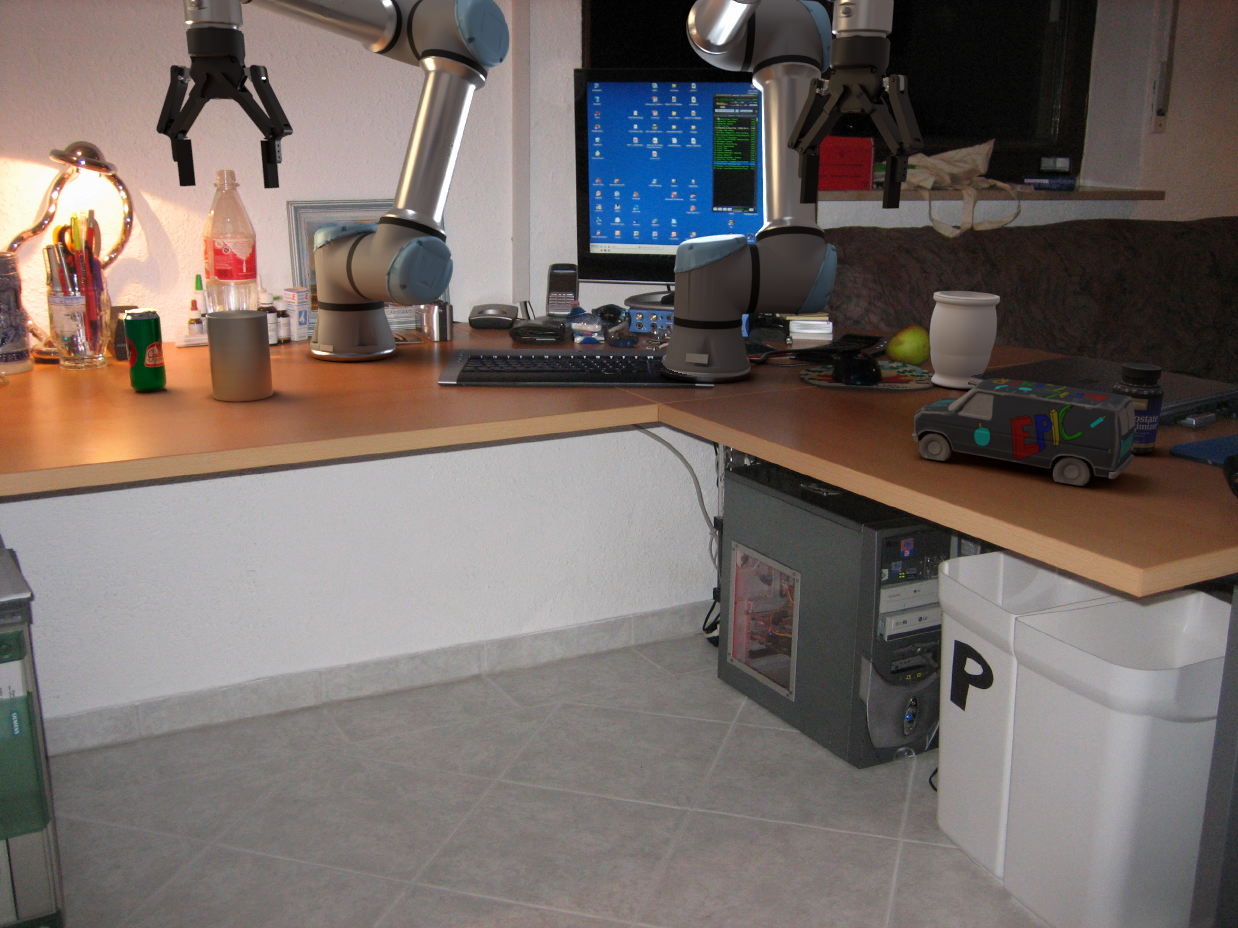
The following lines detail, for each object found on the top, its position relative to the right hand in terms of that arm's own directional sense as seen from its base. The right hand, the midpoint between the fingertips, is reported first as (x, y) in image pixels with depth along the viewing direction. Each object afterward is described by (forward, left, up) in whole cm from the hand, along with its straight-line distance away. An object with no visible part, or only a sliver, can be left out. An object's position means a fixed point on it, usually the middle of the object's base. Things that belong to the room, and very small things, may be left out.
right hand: (847, 206), depth 144 cm
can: (+58, -66, -30) cm, 93 cm away
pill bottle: (-20, +34, -30) cm, 49 cm away
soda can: (+68, -77, -30) cm, 107 cm away
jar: (-38, -3, -30) cm, 48 cm away
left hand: (+58, -66, 0) cm, 88 cm away
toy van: (-1, +28, -30) cm, 41 cm away
